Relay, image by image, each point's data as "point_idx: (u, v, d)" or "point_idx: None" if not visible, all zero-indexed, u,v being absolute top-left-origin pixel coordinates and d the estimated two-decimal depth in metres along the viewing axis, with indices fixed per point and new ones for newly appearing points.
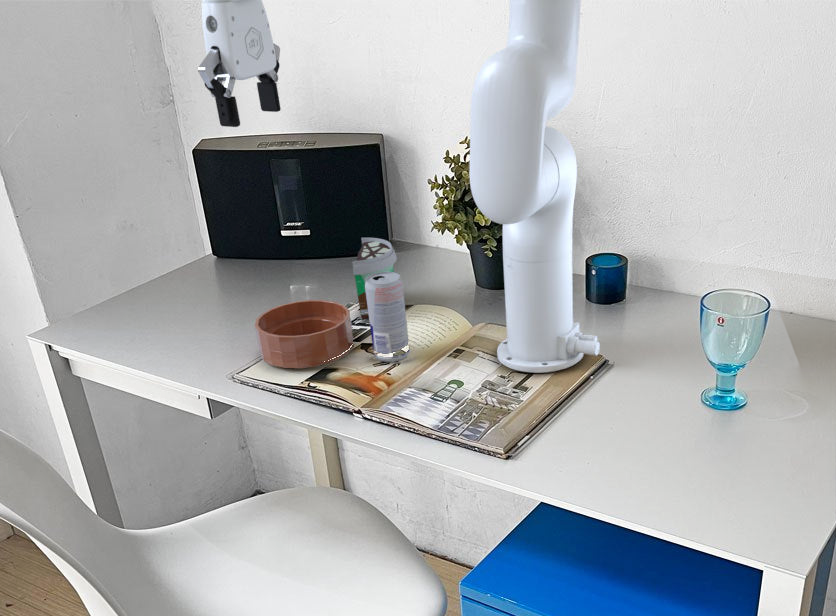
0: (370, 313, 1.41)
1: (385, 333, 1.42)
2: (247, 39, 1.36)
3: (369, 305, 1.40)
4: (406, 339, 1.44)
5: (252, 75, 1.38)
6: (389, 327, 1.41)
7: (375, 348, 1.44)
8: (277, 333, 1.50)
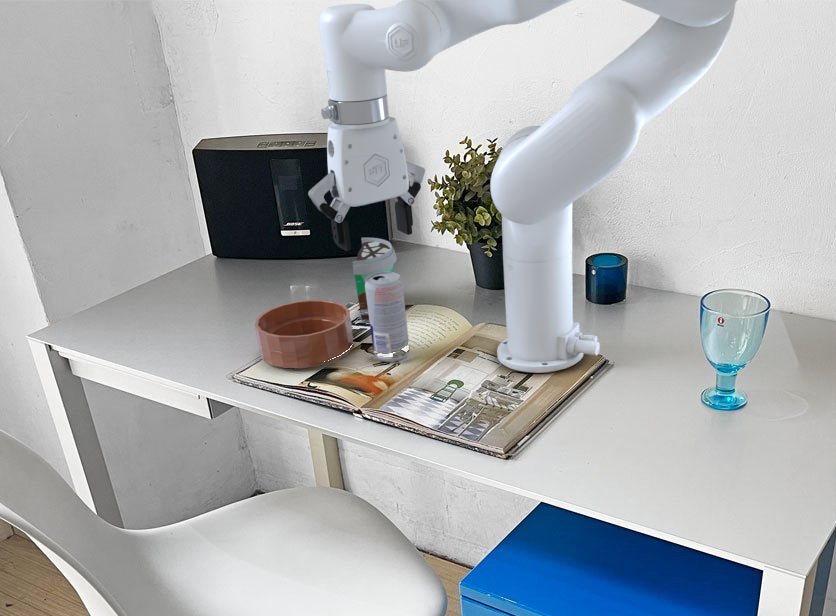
0: (370, 313, 1.41)
1: (385, 333, 1.42)
2: (367, 166, 1.29)
3: (369, 305, 1.40)
4: (406, 339, 1.44)
5: (369, 202, 1.31)
6: (389, 327, 1.41)
7: (375, 348, 1.44)
8: (277, 333, 1.50)
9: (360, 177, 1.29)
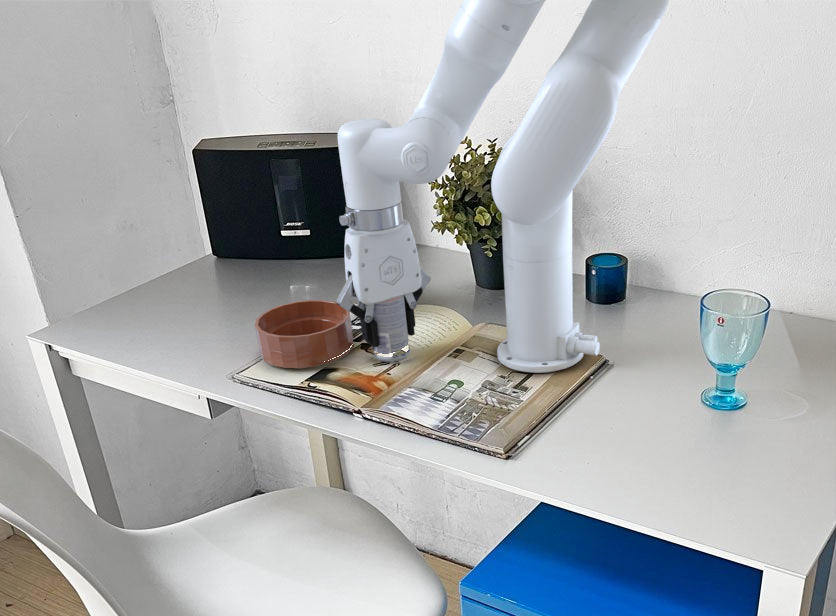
0: None
1: (385, 333, 1.42)
2: (382, 267, 1.36)
3: None
4: (406, 339, 1.44)
5: (385, 299, 1.38)
6: (389, 327, 1.41)
7: (375, 348, 1.44)
8: (277, 333, 1.50)
9: (376, 278, 1.36)
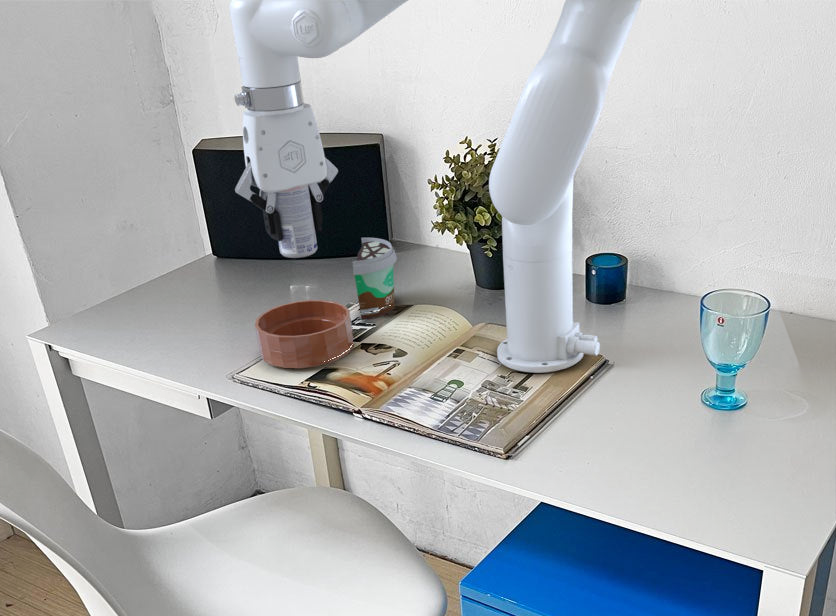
0: None
1: (288, 226, 1.36)
2: (282, 152, 1.30)
3: None
4: (312, 234, 1.38)
5: (286, 188, 1.32)
6: (293, 219, 1.35)
7: (280, 242, 1.38)
8: (277, 333, 1.50)
9: (275, 163, 1.30)
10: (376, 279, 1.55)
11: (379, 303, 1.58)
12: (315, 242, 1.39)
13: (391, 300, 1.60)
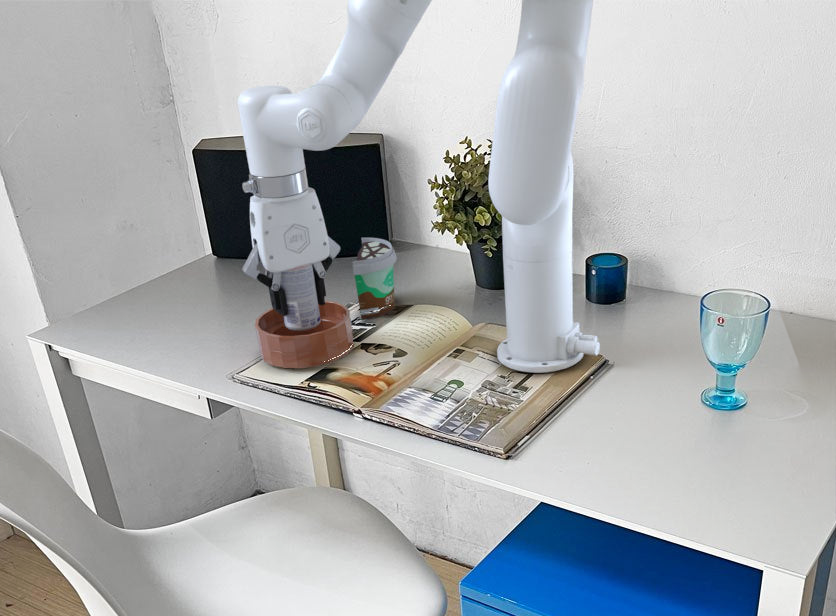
0: None
1: (293, 302, 1.42)
2: (287, 235, 1.36)
3: None
4: (316, 308, 1.44)
5: (291, 267, 1.39)
6: (297, 295, 1.42)
7: (285, 317, 1.44)
8: (277, 333, 1.50)
9: (281, 245, 1.36)
10: (376, 279, 1.55)
11: (379, 303, 1.58)
12: (318, 316, 1.46)
13: (391, 300, 1.60)
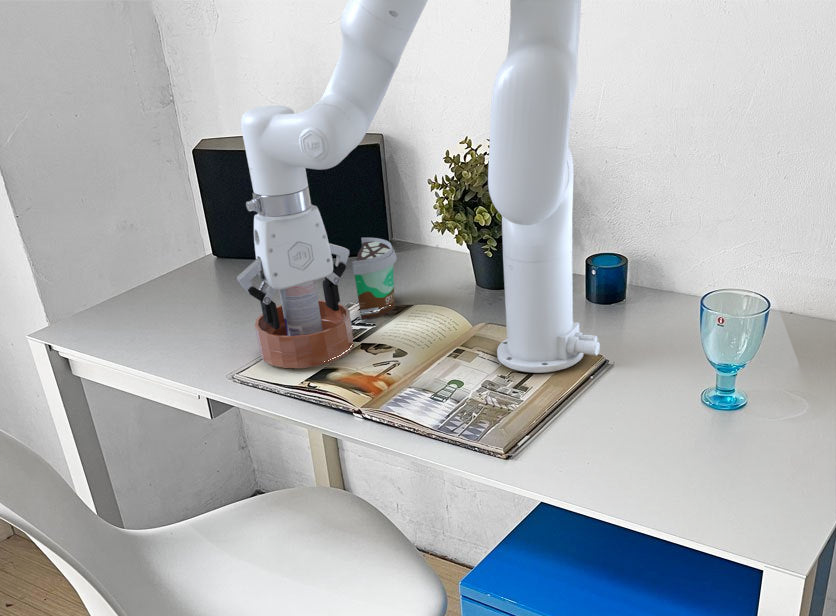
0: (283, 306, 1.44)
1: (298, 326, 1.44)
2: (291, 252, 1.38)
3: (282, 298, 1.43)
4: None
5: (295, 284, 1.40)
6: (302, 320, 1.44)
7: None
8: (277, 333, 1.50)
9: (285, 263, 1.38)
10: (376, 279, 1.55)
11: (379, 303, 1.58)
12: None
13: (391, 300, 1.60)
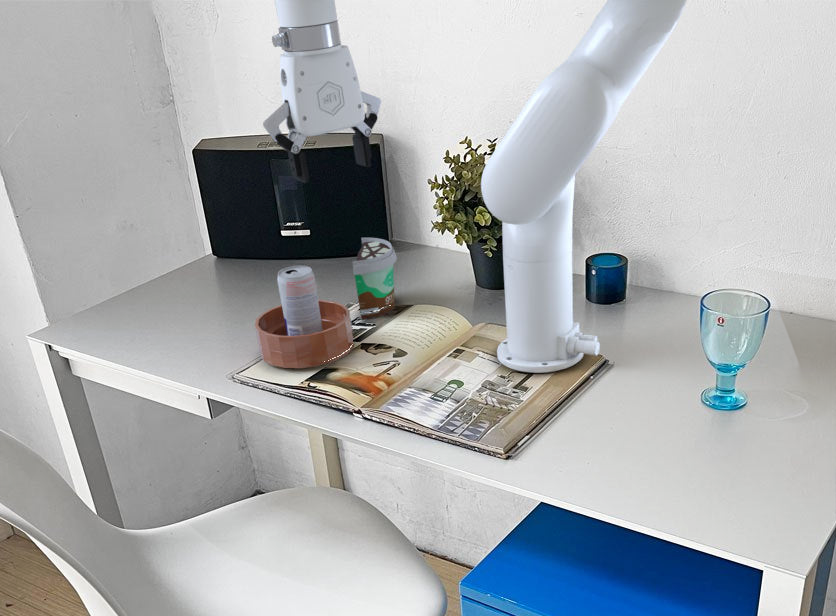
0: (283, 306, 1.44)
1: (298, 326, 1.44)
2: (321, 94, 1.28)
3: (282, 298, 1.43)
4: None
5: (325, 131, 1.31)
6: (302, 320, 1.44)
7: None
8: (277, 333, 1.50)
9: (314, 105, 1.29)
10: (376, 279, 1.55)
11: (379, 303, 1.58)
12: None
13: (391, 300, 1.60)
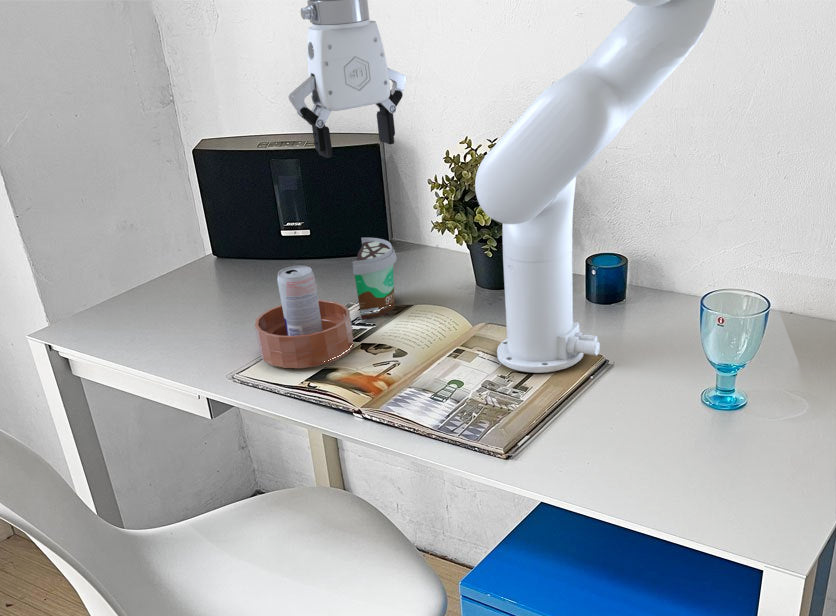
0: (283, 306, 1.44)
1: (298, 326, 1.44)
2: (347, 69, 1.28)
3: (282, 298, 1.43)
4: None
5: (350, 106, 1.31)
6: (302, 320, 1.44)
7: None
8: (277, 333, 1.50)
9: (340, 80, 1.28)
10: (376, 279, 1.55)
11: (379, 303, 1.58)
12: None
13: (391, 300, 1.60)
